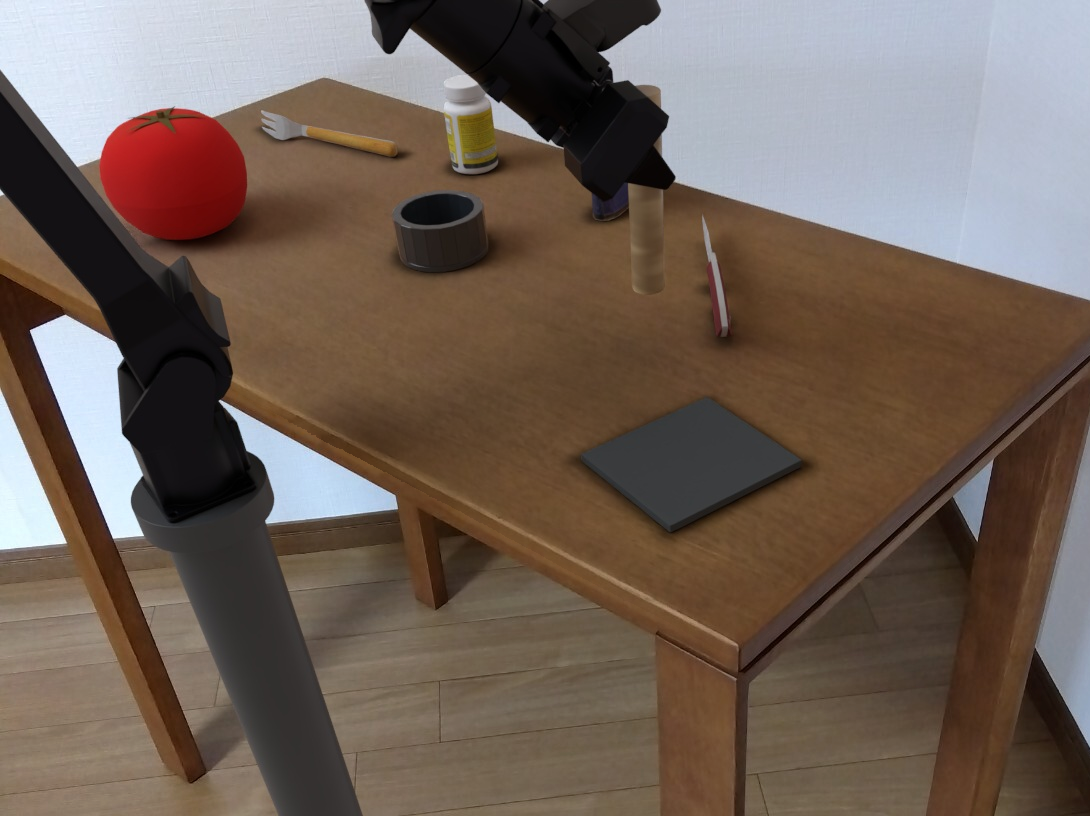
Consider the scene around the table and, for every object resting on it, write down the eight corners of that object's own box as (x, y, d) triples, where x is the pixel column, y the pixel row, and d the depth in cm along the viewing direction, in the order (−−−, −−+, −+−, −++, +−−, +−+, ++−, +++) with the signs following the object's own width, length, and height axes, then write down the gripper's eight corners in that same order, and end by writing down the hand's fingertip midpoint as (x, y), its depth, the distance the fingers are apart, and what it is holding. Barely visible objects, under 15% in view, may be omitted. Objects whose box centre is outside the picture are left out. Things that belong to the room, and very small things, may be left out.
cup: (426, 281, 99) (418, 237, 96) (384, 250, 104) (376, 207, 101) (505, 253, 102) (499, 210, 99) (460, 224, 107) (454, 182, 104)
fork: (402, 137, 120) (260, 107, 127) (391, 139, 118) (248, 108, 126) (402, 162, 121) (262, 131, 129) (391, 164, 119) (250, 132, 127)
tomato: (209, 264, 104) (171, 142, 96) (98, 246, 108) (53, 128, 100) (285, 210, 111) (255, 94, 104) (178, 196, 116) (142, 83, 108)
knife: (733, 348, 88) (734, 312, 85) (716, 349, 88) (717, 314, 86) (708, 232, 102) (708, 199, 100) (694, 233, 103) (693, 200, 100)
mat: (670, 533, 72) (670, 525, 71) (581, 460, 78) (580, 453, 77) (801, 467, 76) (802, 459, 75) (707, 403, 82) (707, 396, 82)
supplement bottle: (507, 161, 117) (497, 76, 111) (480, 178, 114) (468, 91, 109) (470, 154, 119) (459, 69, 114) (442, 170, 116) (429, 85, 111)
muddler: (630, 294, 83) (621, 97, 74) (634, 279, 85) (627, 84, 76) (662, 295, 83) (658, 97, 74) (666, 280, 85) (663, 84, 75)
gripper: (629, -55, 60) (805, 122, 70) (526, -119, 73) (687, 37, 83) (503, 124, 64) (687, 268, 73) (426, 33, 77) (591, 165, 87)
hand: (663, 176), depth 79 cm, fingers closed on muddler, 2 cm apart
